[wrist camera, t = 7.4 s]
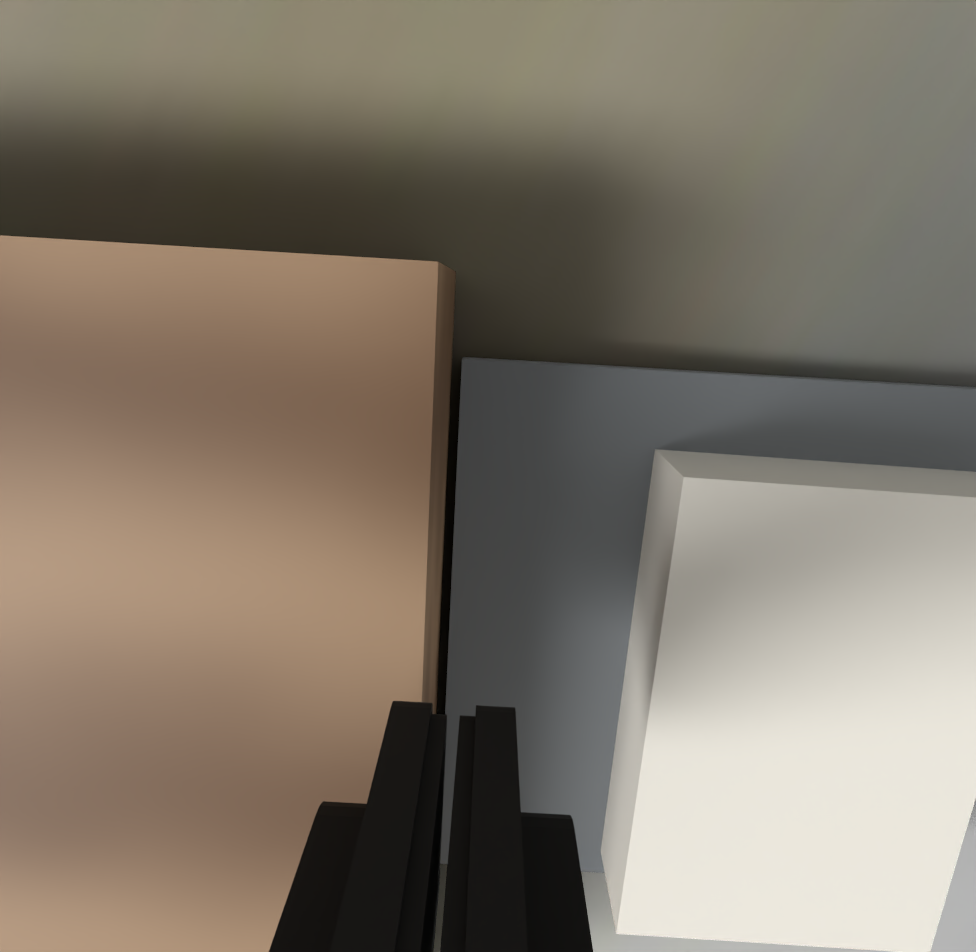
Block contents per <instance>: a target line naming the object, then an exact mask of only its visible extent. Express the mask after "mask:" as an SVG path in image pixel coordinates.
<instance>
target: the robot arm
mask: <svg viewBox="0 0 976 952" xmlns="http://www.w3.org/2000/svg"><path fill="white" fill-rule="evenodd" d="M446 734H447V715H444V714H433V703H427V702H409V701H393V702H392V705H391V708H390V712H389V716H388V720H387V724H386V728H385V732H384V736H383V740H382V744H381V748H380V752H379V756H378V760H377V764H376V768H375V772H374V776H373V780H372V784H371V788H370V792H369V796H368V800H367V804H363V803H345V802H327V801H323V802H322V803H321V804H320V806H319V808H318V811H317V813H316V815H315V818H314V821H313V824H312V827H311V830H310V833H309V836H308V839H307V842H306V845H305V847H304V850H303V853H302V856H301V859H300V862H299V865H298V868H297V871H296V874H295V877H294V880H293V882H292V885H291V888H290V891H289V894H288V897H287V900H286V903H285V906H284V909H283V912H282V915H281V917H280V920H279V923H278V926H277V929H276V932H275V935H274V938H273V941H272V944H271V947H270V950H269V952H433V949H434V938H435V927H436V916H437V906H438V893H439V878H440V858H441V838H442V817H443V796H444V776H445V755H446ZM440 952H593V948H592V942H591V935H590V928H589V922H588V915H587V908H586V902H585V895H584V888H583V882H582V875H581V868H580V862H579V855H578V848H577V842H576V835H575V828H574V824H573V819H572V817H571V815H563V814H545V813H527V812H521V807H520V787H519V768H518V748H517V729H516V711H515V707H499V706H481V705H476V713H475V716H461V715H460V719H459V731H458V743H457V755H456V768H455V780H454V792H453V804H452V816H451V829H450V841H449V853H448V865H447V877H446V890H445V902H444V914H443V926H442V938H441V951H440Z"/></svg>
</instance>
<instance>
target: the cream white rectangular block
mask: <svg viewBox="0 0 976 952" xmlns="http://www.w3.org/2000/svg"><path fill="white" fill-rule="evenodd" d="M975 799H976V472H972V471H958V470H943V469H929V468H915V467H901V466H886V465H872V464H858V463H844V462H830V461H815V460H801V459H787V458H773V457H758V456H744V455H730V454H716V453H701V452H687V451H673V450H659V449H655V452H654V460H653V467H652V475H651V482H650V489H649V497H648V504H647V512H646V519H645V526H644V534H643V541H642V549H641V556H640V563H639V571H638V578H637V586H636V593H635V600H634V608H633V615H632V623H631V630H630V637H629V645H628V652H627V660H626V667H625V674H624V682H623V689H622V697H621V704H620V711H619V719H618V726H617V734H616V741H615V749H614V756H613V763H612V771H611V778H610V786H609V793H608V800H607V808H606V815H605V823H604V830H603V837H602V845H601V856H602V861H603V867H604V872H605V877H606V882H607V888H608V893H609V898H610V903H611V909H612V914H613V919H614V924H615V930H616V934H627V935H643V936H659V937H675V938H690V939H706V940H722V941H737V942H753V943H769V944H784V945H800V946H816V947H832V948H847V949H863V950H879V951H894V952H930V950H931V947H932V944H933V940H934V937H935V934H936V930H937V927H938V924H939V920H940V917H941V913H942V910H943V907H944V903H945V900H946V897H947V893H948V890H949V886H950V883H951V880H952V876H953V873H954V870H955V866H956V863H957V859H958V856H959V853H960V849H961V846H962V843H963V839H964V836H965V833H966V829H967V826H968V822H969V819H970V816H971V812H972V809H973V806H974V802H975Z"/></svg>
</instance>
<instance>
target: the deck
mask: <svg viewBox="0 0 976 952" xmlns="http://www.w3.org/2000/svg"><path fill="white" fill-rule="evenodd" d="M455 280H456V271H454V270H452V269H450V268H449V267H447V266H445V265H443V264H442V263H440V262H436V261H420V260H403V259H386V258H369V257H353V256H336V255H319V254H303V253H286V252H269V251H252V250H236V249H219V248H202V247H186V246H169V245H152V244H135V243H119V242H102V241H85V240H69V239H52V238H35V237H18V236H2V235H0V952H269V950H270V947H271V944H272V941H273V938H274V935H275V932H276V929H277V926H278V923H279V920H280V917H281V915H282V912H283V909H284V906H285V903H286V900H287V897H288V894H289V891H290V888H291V885H292V882H293V880H294V877H295V874H296V871H297V868H298V865H299V862H300V859H301V856H302V853H303V850H304V847H305V845H306V842H307V839H308V836H309V833H310V830H311V827H312V824H313V821H314V818H315V815H316V813H317V811H318V808H319V806H320V804H321V803H322V802H323V801H327V802H345V803H363V804H367V800H368V796H369V792H370V788H371V784H372V780H373V776H374V772H375V768H376V764H377V760H378V756H379V752H380V748H381V744H382V740H383V736H384V732H385V728H386V724H387V720H388V716H389V712H390V708H391V705H392V702H393V701H409V702H427V703H433V714H437V691H438V668H439V645H440V622H441V600H442V577H443V554H444V531H445V508H446V485H447V463H448V440H449V417H450V394H451V371H452V348H453V325H454V303H455Z"/></svg>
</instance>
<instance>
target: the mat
mask: <svg viewBox="0 0 976 952" xmlns="http://www.w3.org/2000/svg"><path fill="white" fill-rule="evenodd" d="M655 449H659V450H673V451H687V452H701V453H716V454H730V455H744V456H758V457H773V458H787V459H801V460H815V461H830V462H844V463H858V464H872V465H886V466H901V467H915V468H929V469H943V470H958V471H972V472H976V387H964V386H947V385H930V384H913V383H896V382H879V381H863V380H846V379H829V378H812V377H795V376H778V375H761V374H744V373H727V372H710V371H693V370H676V369H659V368H642V367H625V366H608V365H591V364H574V363H557V362H541V361H524V360H507V359H490V358H473V357H463V358H462V369H461V390H460V411H459V433H458V454H457V475H456V496H455V517H454V538H453V559H452V580H451V601H450V622H449V643H448V664H447V685H446V707H445V715H447V734H446V755H445V776H444V796H443V817H442V838H441V858H440V864H448V853H449V841H450V829H451V816H452V804H453V792H454V780H455V768H456V755H457V743H458V731H459V719H460V715H461V716H475V713H476V705H481V706H499V707H515V711H516V729H517V748H518V768H519V787H520V807H521V812H527V813H545V814H563V815H571V817H572V819H573V824H574V828H575V835H576V842H577V848H578V855H579V862H580V868H581V872H600V873H605V872H604V867H603V861H602V856H601V845H602V837H603V830H604V823H605V815H606V808H607V800H608V793H609V786H610V778H611V771H612V763H613V756H614V749H615V741H616V734H617V726H618V719H619V711H620V704H621V697H622V689H623V682H624V674H625V667H626V660H627V652H628V645H629V637H630V630H631V623H632V615H633V608H634V600H635V593H636V586H637V578H638V571H639V563H640V556H641V549H642V541H643V534H644V526H645V519H646V512H647V504H648V497H649V489H650V482H651V475H652V467H653V460H654V452H655Z"/></svg>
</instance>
